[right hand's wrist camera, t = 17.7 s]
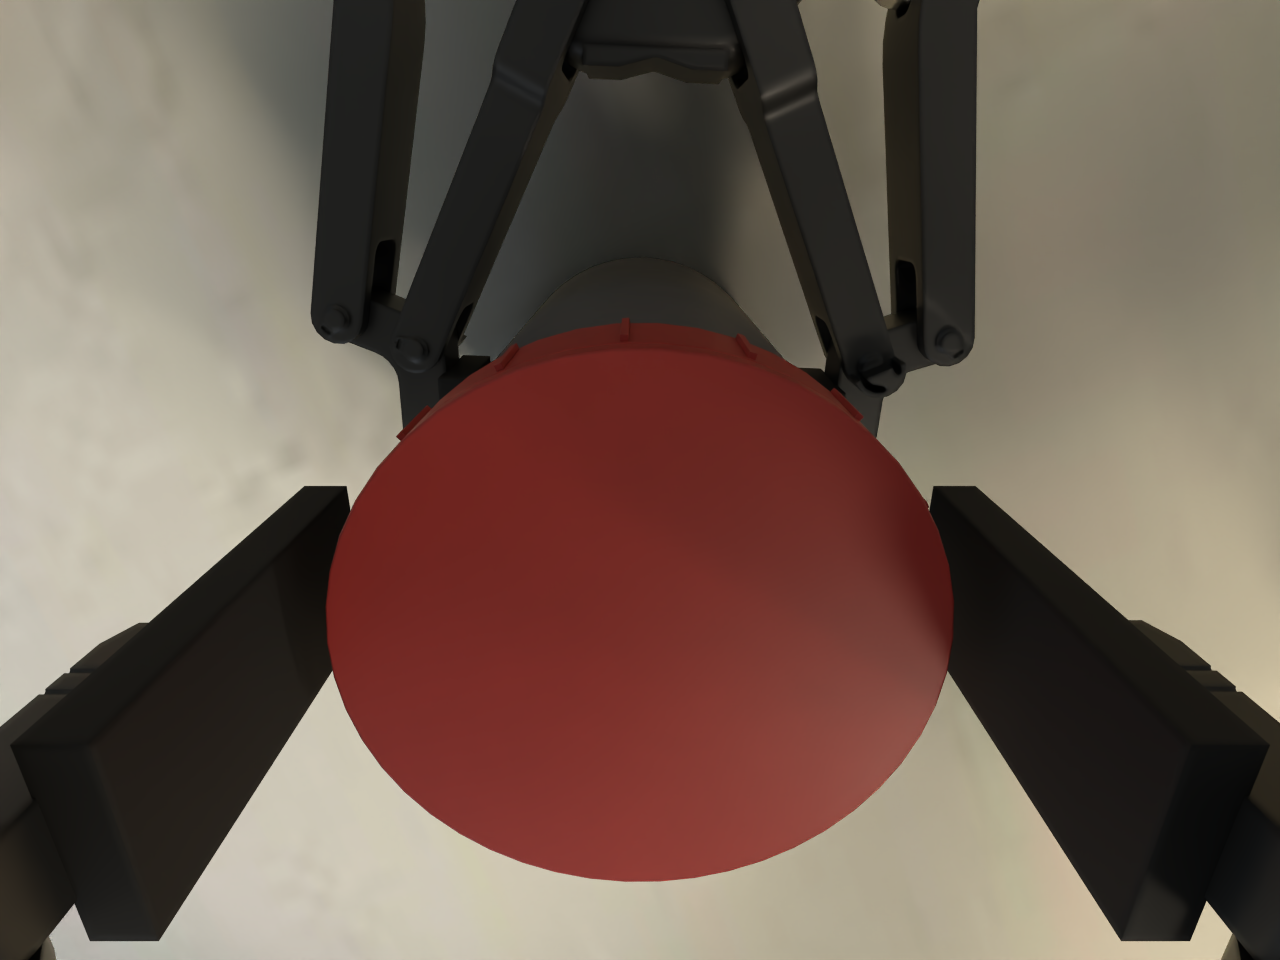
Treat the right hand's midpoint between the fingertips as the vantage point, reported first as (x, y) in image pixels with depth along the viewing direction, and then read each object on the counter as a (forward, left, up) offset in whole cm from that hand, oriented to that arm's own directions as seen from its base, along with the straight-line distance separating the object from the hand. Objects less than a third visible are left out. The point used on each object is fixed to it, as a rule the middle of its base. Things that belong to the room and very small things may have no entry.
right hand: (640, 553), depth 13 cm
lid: (0, 0, +3) cm, 3 cm away
